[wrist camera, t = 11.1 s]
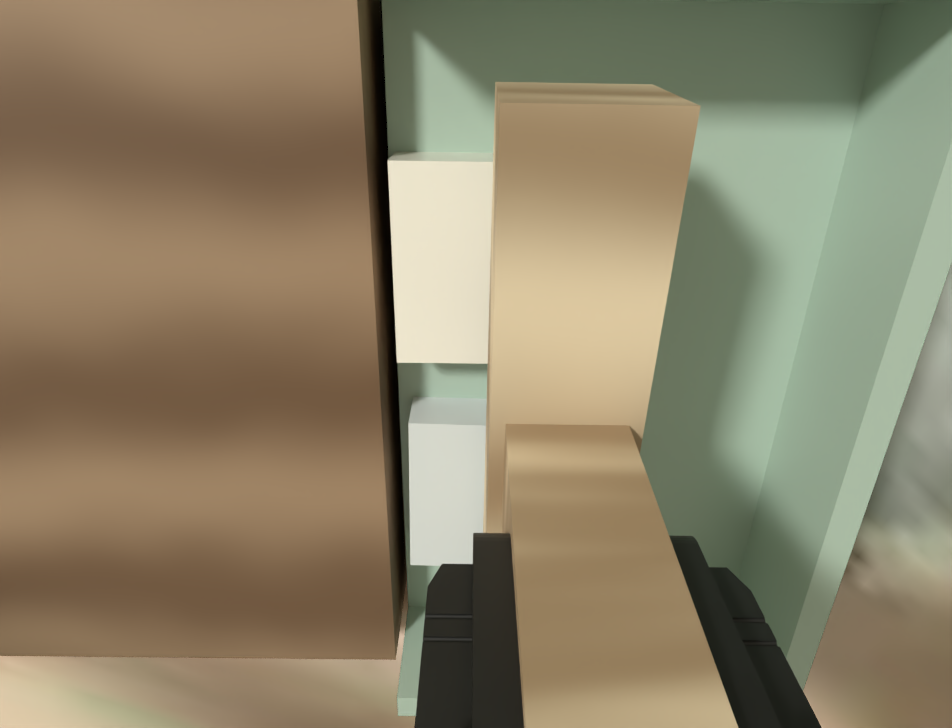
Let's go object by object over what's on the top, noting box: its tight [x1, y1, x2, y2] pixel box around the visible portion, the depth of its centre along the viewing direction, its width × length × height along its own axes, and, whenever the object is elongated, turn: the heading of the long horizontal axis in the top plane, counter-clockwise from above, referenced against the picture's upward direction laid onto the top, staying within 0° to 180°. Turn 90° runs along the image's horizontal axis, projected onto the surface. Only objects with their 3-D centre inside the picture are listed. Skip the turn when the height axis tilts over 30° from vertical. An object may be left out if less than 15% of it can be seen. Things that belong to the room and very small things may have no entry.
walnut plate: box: [0, 0, 406, 660], centre depth 18 cm, size 20×16×4 cm
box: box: [382, 0, 952, 716], centre depth 18 cm, size 20×12×6 cm, turn 179°
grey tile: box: [408, 397, 487, 566], centre depth 19 cm, size 5×5×2 cm
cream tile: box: [388, 152, 493, 364], centre depth 16 cm, size 5×5×2 cm
